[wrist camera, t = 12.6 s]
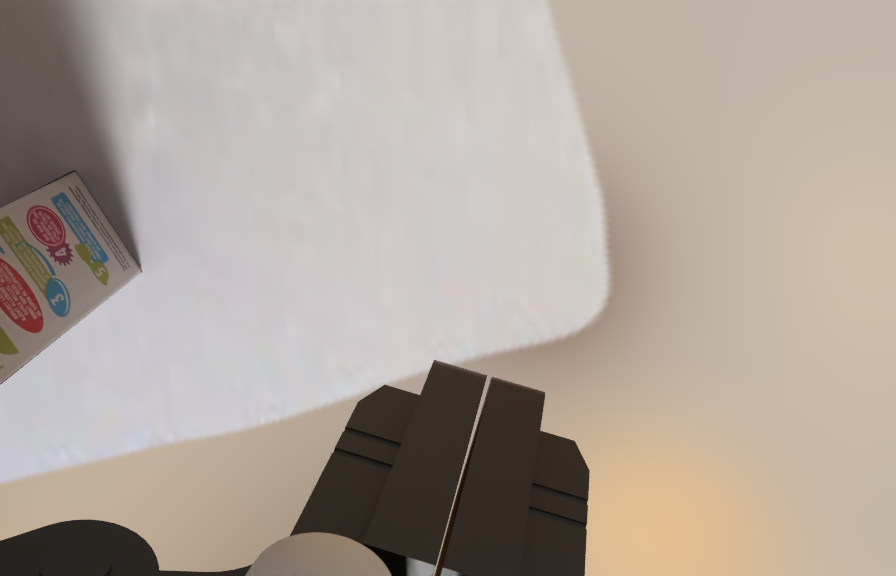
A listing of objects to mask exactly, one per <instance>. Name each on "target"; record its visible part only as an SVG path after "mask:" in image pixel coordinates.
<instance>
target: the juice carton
mask: <svg viewBox="0 0 896 576" xmlns="http://www.w3.org/2000/svg"><path fill="white" fill-rule="evenodd" d="M141 272H142V271H141V269H140V268H139V266H138V265H137V263H136V262H135V260H134V258H133V257H132V255H131V254H130V252H129V251H128V249H127V248H126V246H125V245H124V243H123V242H122V240H121V239H120V237H119V236H118V234H117V233H116V231H115V230H114V228H113V227H112V225H111V224H110V222H109V221H108V219H107V218H106V216H105V215H104V213H103V212H102V210H101V209H100V207H99V206H98V204H97V203H96V201H95V199H94V198H93V196H92V195H91V193H90V192H89V190H88V189H87V187H86V186H85V184H84V183H83V181H82V180H81V178H80V177H79V175H78V174H77V172H76V171H75V170H74V171H72V172H70V173H68V174H66V175H64V176H62V177H60V178H58V179H56V180H54V181H52V182H50V183H48V184H46V185H45V186H43V187H41V188H39V189H37V190H35V191H33V192H31V193H29V194H27V195H25V196H23V197H21V198H19V199H17V200H15V201H13V202H11V203H9V204H7V205H5V206H3V207H1V208H0V384H2V383H3V382H4V381H5V380H7V379H8V378H9V377H10V376H12V375H13V374H14V373H15V372H17V371H18V370H19V369H20V368H22V367H23V366H24V365H25V364H27V363H28V362H29V361H30V360H32V359H33V358H34V357H35V356H37V355H38V354H39V353H40V352H42V351H43V350H44V349H45V348H47V347H48V346H49V345H50V344H52V343H53V342H54V341H55V340H57V339H58V338H59V337H60V336H62V335H63V334H64V333H65V332H67V331H68V330H69V329H71V328H72V327H73V326H74V325H76V324H77V323H78V322H79V321H81V320H82V319H83V318H84V317H86V316H87V315H88V314H89V313H91V312H92V311H93V310H94V309H96V308H97V307H98V306H99V305H101V304H102V303H103V302H104V301H106V300H107V299H108V298H110V297H111V296H112V295H113V294H115V293H116V292H117V291H118V290H120V289H121V288H122V287H123V286H125V285H126V284H127V283H128V282H130V281H131V280H132V279H133V278H135V277H136V276H137V275H139V274H140V273H141Z"/></svg>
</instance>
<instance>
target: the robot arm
mask: <svg viewBox="0 0 896 576" xmlns="http://www.w3.org/2000/svg"><path fill="white" fill-rule="evenodd" d="M486 377H487V375H484V374H480V373H477V372H474V371H470V370H467V369H463V368H460V367H457V366H453V365H450V364H447V363H443V362H440V361H436V360H434V362H433V364H432V367H431V369H430V372H429V374H428V377H427V380H426V382H425V385H424V387H423V390H422V392H421V395H417V394H414V393H411V392H407V391H403V390H401V389H397V388H394V387H390V386H387V385H384V386H382V387H381V388H379V389H377V390H376V391H374V392H373V393H371V394H370V395H368V396H366V397H365V398H363V399H362V400H360V401H359V402H358V403H357V405H356V407H355V409H354V411H353V413H352V415H351V417H350V419H349V421H348V423H347V425H346V428H345V431H344V432H343V433H342V435H341V437H340V439H339V441H338V443H337V445H336V447H335V450H334V453H332V455H331V456H330V459H329V461H328V463H327V465H326V466H325V468H324V470H323V472H322V474H321V476H320V478H319V480H318V482H317V484H316V486H315V488H314V490H313V492H312V494H311V496H310V498H309V500H308V502H307V504H306V506H305V508H304V509H303V511H302V513H301V515H300V517H299V519H298V521H297V523H296V525H295V527H294V529H293V531H292V533H291V535H290V536H289V537H287V538H284V539H281V540H279V541H277V542H276V543H274V544H272V545H270V546H269V547H268V548H267V549H265V550H264V551H263V552H262V553H261V554H260V556H259V557H258V558H257V559H256V560H255V562H254V563H253V564H252V565H249V566H247V567H243V568H239V569H235V570H229V571H222V572H187V571H160V570H159V565H158V561H157V557H156V555H155V553H154V551H153V550H152V548H151V547H150V545H149V544H148V543H147V542H146V541H145V540H144V539H143V538H142V537H141V536H139V535H138V534H137V533H135V532H133V531H131V530H129V529H128V528H126V527H123V526H120V525H118V524H115V523H109V522H105V521H99V520H72V521H65V522H59V523H56V524H52V525H48V526H45V527H42V528H39V529H36V530H32V531H30V532H26V533H23V534H21V535H17V536H14V537H11V538H8V539H5V540H2V541H0V576H433V574H434V570H435V567H436V563H437V559H438V556H439V552H440V548H441V544H442V541H443V537H444V533H445V530H446V526H447V522H448V519H449V515H450V511H451V507H452V503H453V500H454V496H455V493H456V489H457V485H458V481H459V478H460V474H461V470H462V467H463V463H464V459H465V456H466V452H467V448H468V444H469V441H470V437H471V433H472V430H473V426H474V422H475V418H476V415H477V411H478V407H479V404H480V400H481V396H482V393H483V389H484V385H485V381H486ZM544 399H545V392H542V391H539V390H536V389H532V388H529V387H525V386H522V385H519V384H515V383H512V382H508V381H505V380H501V379H498V378H494V377H492V378H491V381H490V384H489V387H488V390H487V394H486V397H485V401H484V404H483V407H482V411H481V414H480V417H479V421H478V424H477V427H476V431H475V434H474V437H473V441H472V444H471V447H470V451H469V455H468V458H467V461H466V464H465V468H464V471H463V474H462V478H461V482H460V485H459V489H458V492H457V495H456V499H455V502H454V506H453V510H452V514H451V517H450V521H449V525H448V528H447V532H446V536H445V540H444V543H443V547H442V551H441V555H440V558H439V562H438V566H437V569H436V573H435V576H584V575H585V554H586V531H587V530H586V525H587V511H588V505H587V501H588V490H589V469H588V467H587V465H586V463H585V461H584V459H583V457H582V455H581V453H580V451H579V449H578V447H577V445H576V443H575V441H573V440H570V439H566V438H563V437H559V436H556V435H553V434H549V433H546V432H543V431H540V427H541V420H542V413H543V406H544Z"/></svg>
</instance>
